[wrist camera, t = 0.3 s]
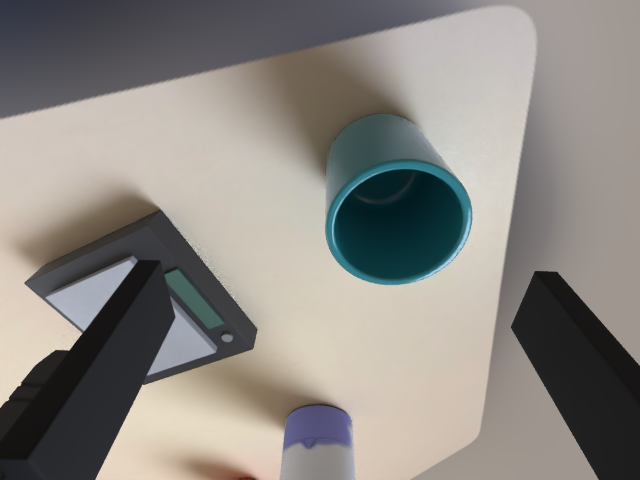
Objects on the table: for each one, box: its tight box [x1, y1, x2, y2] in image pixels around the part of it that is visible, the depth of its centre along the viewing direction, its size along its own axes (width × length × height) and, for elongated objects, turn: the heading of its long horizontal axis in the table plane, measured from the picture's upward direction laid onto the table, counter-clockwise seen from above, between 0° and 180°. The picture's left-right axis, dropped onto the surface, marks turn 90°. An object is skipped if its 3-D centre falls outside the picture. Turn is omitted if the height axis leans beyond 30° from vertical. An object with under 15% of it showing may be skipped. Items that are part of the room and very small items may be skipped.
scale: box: [24, 210, 257, 385], centre depth 39 cm, size 18×16×4 cm
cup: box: [325, 114, 472, 285], centre depth 27 cm, size 9×12×11 cm
